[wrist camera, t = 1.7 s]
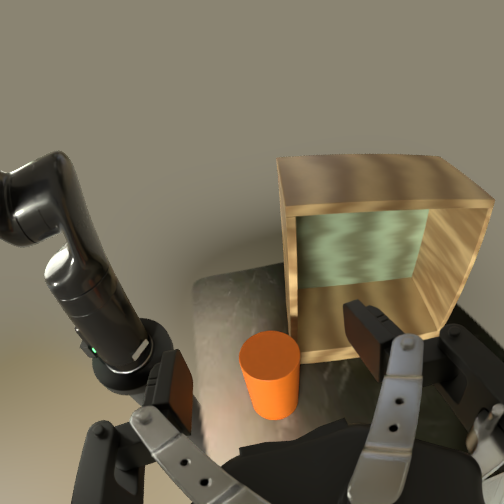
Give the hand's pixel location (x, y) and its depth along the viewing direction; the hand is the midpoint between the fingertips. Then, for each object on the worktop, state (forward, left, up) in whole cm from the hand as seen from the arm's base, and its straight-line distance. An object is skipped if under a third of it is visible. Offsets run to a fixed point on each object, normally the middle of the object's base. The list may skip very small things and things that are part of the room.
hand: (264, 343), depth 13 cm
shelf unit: (+13, +17, -22) cm, 31 cm away
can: (0, +6, -22) cm, 23 cm away
